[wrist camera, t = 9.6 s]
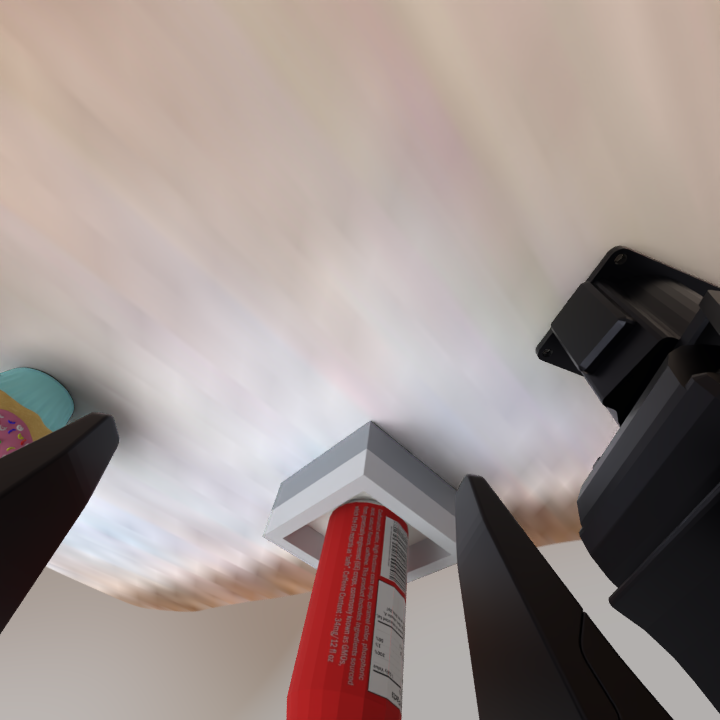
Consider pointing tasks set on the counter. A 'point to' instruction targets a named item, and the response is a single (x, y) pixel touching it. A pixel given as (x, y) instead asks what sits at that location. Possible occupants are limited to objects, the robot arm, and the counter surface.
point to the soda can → (354, 620)
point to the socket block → (367, 482)
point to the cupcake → (30, 407)
